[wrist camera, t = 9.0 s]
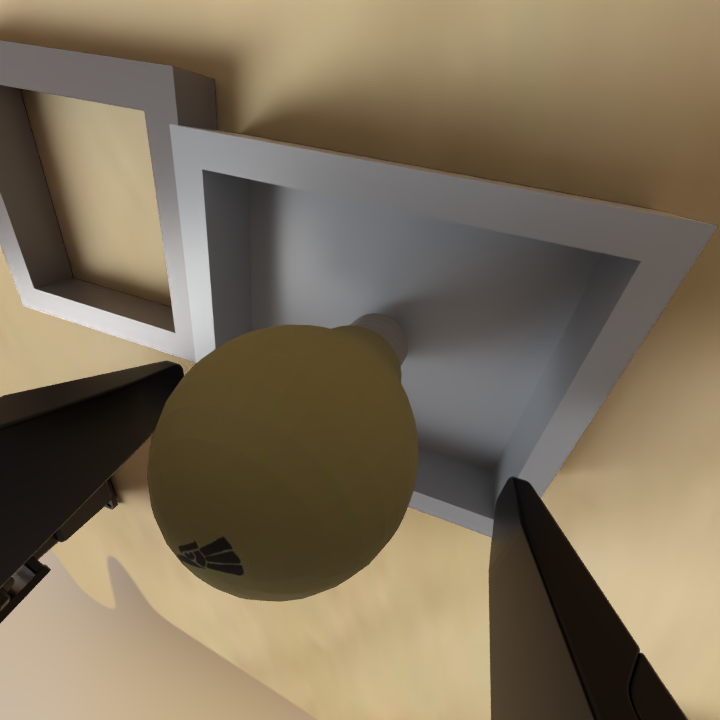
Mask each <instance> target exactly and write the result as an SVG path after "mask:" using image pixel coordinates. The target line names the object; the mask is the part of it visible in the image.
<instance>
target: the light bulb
mask: <svg viewBox="0 0 720 720" xmlns="http://www.w3.org/2000/svg"><path fill="white" fill-rule="evenodd" d="M407 352H408V340H407V337H406V334H405V332H404V330H403V329H402V327H401V326H400V325H399V324H398V323H397V322H396V321H395V320H393V319H392V318H390V317H388V316H386V315H383V314H378V313H371V314H366V315H363V316H361V317H359V318H358V319H356V320H355V321H353V323H352V324H350V325H347V326H339V327H336V328H332V329H330V328H325V327H320V326H313V325H280V326H275V327H269V328H264V329H260V330H255V331H251V332H248V333H246V334H243V335H241V336H239V337H236V338H234V339H232V340H230V341H227V342H226V343H224V344H223V345H221V346H220V347H218V348H217V349H215V350H214V351H212V352H211V353H209V354H208V355H206V356H205V357H203V358H202V359H201V360H200V361H199V362H197V363H196V364H195V365H194V366H193V367H192V368H191V369H190V371H189V372H188V373H187V374H186V375H185V376H184V377H183V378H182V380H181V381H180V382H179V384H178V385H177V387H176V388H175V389H174V391H173V392H172V394H171V395H170V396H169V398H168V399H167V401H166V403H165V405H164V408H163V410H162V413H161V415H160V418H159V421H158V423H157V426H156V428H155V431H154V433H153V436H152V438H151V446H150V453H149V461H148V487H149V494H150V501H151V507H152V511H153V514H154V517H155V519H156V521H157V524H158V526H159V528H160V530H161V532H162V535H163V537H164V539H165V541H166V543H167V545H168V546H169V547H170V549H171V550H172V551H173V552H174V554H175V555H176V556H177V557H178V559H179V560H180V561H181V563H182V564H183V565H184V566H185V567H186V568H188V569H189V570H190V571H191V572H192V573H193V574H194V575H195V576H196V577H198V578H200V579H201V580H203V581H204V582H206V583H207V584H209V585H210V586H212V587H214V588H216V589H218V590H221V591H223V592H226V593H228V594H231V595H234V596H236V597H239V598H244V599H250V600H263V601H288V600H296V599H303V598H306V597H309V596H312V595H315V594H318V593H320V592H323V591H326V590H328V589H331V588H334V587H336V586H338V585H339V584H341V583H343V582H344V581H346V580H347V579H349V578H350V577H352V576H353V575H355V574H356V573H357V572H359V571H360V570H362V569H363V568H364V567H366V566H367V565H369V564H370V562H371V561H372V560H373V559H374V558H375V557H376V556H377V555H378V553H379V552H380V551H381V550H382V549H383V548H384V546H385V545H386V544H387V543H388V542H389V541H390V539H391V538H392V537H393V535H394V534H395V532H396V531H397V529H398V527H399V525H400V523H401V521H402V519H403V517H404V515H405V512H406V510H407V508H408V505H409V503H410V500H411V497H412V494H413V492H414V487H415V482H416V476H417V467H418V458H419V455H418V437H417V429H416V422H415V418H414V415H413V411H412V408H411V405H410V402H409V399H408V396H407V394H406V392H405V390H404V388H403V386H402V384H401V377H402V373H401V365H402V364H403V361H404V360H405V358H406V356H407Z"/></svg>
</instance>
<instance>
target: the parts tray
mask: <svg viewBox="0 0 720 720" xmlns="http://www.w3.org/2000/svg"><path fill="white" fill-rule="evenodd" d="M169 126H170V135H171V144H172V153H173V162H174V171H175V179H176V188H177V197H178V206H179V215H180V224H181V233H182V242H183V251H184V260H185V269H186V278H187V287H188V296H189V305H190V314H191V323H192V332H193V341H194V350H195V359H196V363H197V362H199V361H200V360H201V359H202V358H203V357H205V356H206V355H208V354H209V353H211V352H212V351H214V350H215V349H217V348H218V347H220V346H221V345H223V344H224V343H226V342H227V341H230V340H232V339H234V338H236V337H239V336H241V335H243V334H246V333H248V332H251V331H255V330H260V329H264V328H269V327H275V326H280V325H313V326H320V327H325V328H330V329H332V328H336V327H339V326H347V325H350V324H352V323H353V321H355V320H356V319H358V318H359V317H361V316H363V315H366V314H371V313H378V314H383V315H386V316H388V317H390V318H392V319H393V320H395V321H396V322H397V323H398V324H399V325H400V326H401V327H402V329H403V330H404V332H405V334H406V337H407V340H408V352H407V356H406V358H405V360H404V361H403V364H402V365H401V373H402V377H401V384H402V386H403V388H404V390H405V392H406V394H407V396H408V399H409V402H410V405H411V408H412V411H413V415H414V418H415V422H416V429H417V437H418V455H419V458H418V467H417V476H416V482H415V487H414V492H413V494H412V497H411V500H410V503H409V505H408V507H411V508H413V509H416V510H419V511H421V512H424V513H427V514H429V515H432V516H435V517H438V518H440V519H443V520H446V521H448V522H451V523H454V524H457V525H459V526H462V527H465V528H467V529H470V530H473V531H476V532H478V533H481V534H484V535H486V536H489V537H492V532H493V522H494V512H495V505H496V501H497V498H498V496H499V494H500V492H501V491H502V489H503V487H504V485H505V483H506V482H507V480H508V479H509V478H510V477H511V476H514V477H517V478H520V479H523V480H526V481H528V482H530V483H531V485H532V486H533V488H534V489H535V491H536V492H537V494H538V495H539V497H540V498H541V497H542V495H543V494H544V492H545V491H546V489H547V488H548V486H549V485H550V483H551V482H552V480H553V478H554V477H555V475H556V474H557V472H558V471H559V469H560V468H561V466H562V465H563V463H564V462H565V460H566V459H567V457H568V455H569V454H570V452H571V451H572V449H573V448H574V446H575V445H576V443H577V442H578V440H579V439H580V437H581V435H582V434H583V432H584V431H585V429H586V428H587V426H588V425H589V423H590V422H591V420H592V419H593V417H594V416H595V414H596V412H597V411H598V409H599V408H600V406H601V405H602V403H603V402H604V400H605V399H606V397H607V396H608V394H609V393H610V391H611V389H612V388H613V386H614V385H615V383H616V382H617V380H618V379H619V377H620V376H621V374H622V373H623V371H624V370H625V368H626V366H627V365H628V363H629V362H630V360H631V359H632V357H633V356H634V354H635V353H636V351H637V350H638V348H639V346H640V345H641V343H642V342H643V340H644V339H645V337H646V336H647V334H648V333H649V331H650V330H651V328H652V327H653V325H654V323H655V322H656V320H657V319H658V317H659V316H660V314H661V313H662V311H663V310H664V308H665V307H666V305H667V304H668V302H669V300H670V299H671V297H672V296H673V294H674V293H675V291H676V290H677V288H678V287H679V285H680V284H681V282H682V280H683V279H684V277H685V276H686V274H687V273H688V271H689V270H690V268H691V267H692V265H693V264H694V262H695V261H696V259H697V257H698V256H699V254H700V253H701V251H702V250H703V248H704V247H705V245H706V244H707V242H708V241H709V239H710V238H711V236H712V234H713V233H714V231H715V230H716V228H717V227H718V226H717V225H713V224H709V223H705V222H701V221H697V220H693V219H690V218H686V217H682V216H678V215H674V214H670V213H666V212H662V211H658V210H654V209H649V208H643V207H638V206H632V205H627V204H621V203H616V202H611V201H605V200H600V199H594V198H589V197H583V196H578V195H572V194H567V193H561V192H556V191H550V190H545V189H540V188H534V187H529V186H523V185H518V184H512V183H507V182H501V181H496V180H490V179H485V178H479V177H474V176H469V175H463V174H458V173H452V172H447V171H441V170H436V169H430V168H425V167H419V166H414V165H409V164H403V163H398V162H392V161H387V160H381V159H376V158H370V157H365V156H359V155H354V154H348V153H343V152H338V151H332V150H327V149H321V148H316V147H310V146H305V145H299V144H294V143H288V142H283V141H277V140H272V139H267V138H261V137H256V136H250V135H245V134H239V133H231V132H224V131H217V130H209V129H202V128H195V127H187V126H180V125H172V124H169Z"/></svg>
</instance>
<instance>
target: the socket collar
mask: <svg viewBox="0 0 720 720" xmlns="http://www.w3.org/2000/svg"><path fill="white" fill-rule="evenodd" d="M19 88H20V89H26V90H32V91H37V92H43V93H48V94H54V95H59V96H65V97H71V98H76V99H82V100H87V101H93V102H98V103H104V104H109V105H115V106H121V107H126V108H132V109H137V110H143V111H145V118H146V125H147V133H148V140H149V147H150V154H151V161H152V168H153V175H154V183H155V190H156V197H157V204H158V211H159V218H160V226H161V233H162V240H163V247H164V254H165V261H166V269H167V276H168V283H169V290H170V297H171V304H172V307H168V306H165V305H162V304H158V303H155V302H152V301H148V300H145V299H142V298H138V297H135V296H132V295H128V294H125V293H122V292H118V291H115V290H112V289H108V288H105V287H102V286H98V285H95V284H92V283H88V282H85V281H82V280H78V279H75V278H73V275H72V272H71V268H70V265H69V261H68V258H67V254H66V251H65V247H64V244H63V240H62V237H61V233H60V230H59V226H58V222H57V219H56V215H55V212H54V208H53V205H52V201H51V198H50V194H49V191H48V187H47V184H46V180H45V177H44V173H43V170H42V166H41V163H40V159H39V156H38V152H37V149H36V145H35V142H34V138H33V135H32V131H31V128H30V124H29V121H28V117H27V114H26V110H25V107H24V103H23V100H22V96H21V92H20V89H19ZM169 124H172V125H180V126H187V127H195V128H202V129H209V130H217V118H216V99H215V80H214V79H212V78H208V77H205V76H202V75H199V74H196V73H193V72H190V71H187V70H184V69H180V68H177V67H174V66H170V65H163V64H156V63H150V62H143V61H136V60H129V59H123V58H116V57H109V56H103V55H96V54H89V53H82V52H76V51H69V50H62V49H55V48H49V47H42V46H35V45H28V44H22V43H15V42H8V41H2V40H0V246H1V248H2V251H3V254H4V256H5V259H6V261H7V264H8V267H9V269H10V272H11V275H12V277H13V280H14V283H15V285H16V288H17V291H18V293H19V296H20V299H21V301H22V304H23V306H25V307H28V308H31V309H34V310H37V311H40V312H43V313H46V314H49V315H52V316H55V317H58V318H61V319H64V320H68V321H71V322H74V323H77V324H80V325H83V326H86V327H89V328H92V329H95V330H98V331H101V332H104V333H107V334H110V335H113V336H116V337H119V338H122V339H125V340H128V341H131V342H134V343H137V344H140V345H143V346H147V347H150V348H153V349H156V350H159V351H162V352H165V353H168V354H171V355H174V356H177V357H180V358H183V359H186V360H189V361H192V362H195V363H196V359H195V350H194V341H193V332H192V323H191V314H190V305H189V296H188V287H187V278H186V269H185V260H184V251H183V242H182V233H181V224H180V215H179V206H178V197H177V188H176V179H175V171H174V162H173V153H172V144H171V135H170V126H169Z"/></svg>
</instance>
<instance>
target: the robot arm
mask: <svg viewBox="0 0 720 720" xmlns="http://www.w3.org/2000/svg"><path fill="white" fill-rule="evenodd" d="M183 377H184V374H183V368H182V367H181V365H179V364H177V363H174V362H171V361H162V362H158V363H153V364H148V365H144V366H139V367H135V368H130V369H125V370H121V371H116V372H111V373H107V374H102V375H97V376H93V377H88V378H83V379H79V380H74V381H69V382H65V383H60V384H55V385H51V386H46V387H41V388H37V389H32V390H27V391H23V392H18V393H13V394H9V395H4V396H2V397H0V623H1V622H2V621H3V620H4V619H5V618H6V617H7V616H8V615H9V613H11V611H12V610H13V609H14V608H15V607H16V606H17V605H18V604H19V603H20V602H21V601H22V600H23V599H24V598H25V597H26V596H27V595H28V594H29V592H30V591H31V590H32V589H33V588H34V587H35V586H36V585H37V584H38V583H39V582H40V581H41V580H42V579H43V578H44V577H45V576H46V575H47V574H48V572H49V571H50V570H51V569H50V568H49V567H48V566H46V565H43V564H42V563H40V562H39V561H38V559H39V558H40V557H42V556H43V555H44V554H45V553H46V552H47V551H48V550H50V549H51V548H52V547H53V546H54V545H55V544H56V543H58V542H64V541H66V540H67V539H68V538H69V537H70V536H72V535H73V534H74V533H75V532H76V531H77V530H78V529H79V528H81V527H82V526H83V525H84V524H85V523H86V522H87V521H88V520H90V519H91V518H92V517H93V516H94V515H95V514H96V513H97V512H99V511H100V510H101V509H102V508H103V507H104V506H105V507H107V508H109V509H114V508H115V507H116V506H117V505H118V503H117V500H116V497H115V494H114V491H113V488H112V485H111V482H110V479H109V478H110V477H111V476H112V475H113V474H114V473H115V472H116V471H117V470H118V469H119V468H120V467H121V466H122V465H123V464H124V463H125V462H126V461H127V460H128V459H129V458H130V457H131V456H132V455H133V453H134V452H135V451H136V450H137V449H138V448H139V447H140V446H141V445H142V444H143V443H144V442H145V441H146V440H147V439H148V438H149V437H150V436H151V435H152V433H153V432H154V431H155V428H156V426H157V423H158V421H159V418H160V415H161V413H162V410H163V408H164V405H165V403H166V401H167V399H168V398H169V396H170V395H171V394H172V392H173V391H174V389H175V388H176V387H177V385H178V384H179V382H180V381H181V380H182V378H183ZM12 576H13V577H12ZM489 621H490V678H491V720H688V719H687V717H686V716H685V714H684V713H683V711H682V710H681V709H680V707H679V706H678V704H677V703H676V701H675V700H674V698H673V697H672V695H671V694H670V692H669V691H668V690H667V688H666V687H665V685H664V684H663V682H662V681H661V679H660V678H659V676H658V675H657V673H656V672H655V670H654V669H653V667H652V666H651V664H650V663H649V661H648V660H647V658H646V657H645V655H644V654H643V653H639V652H640V648H639V646H638V645H637V643H636V642H635V640H634V639H633V637H632V636H631V634H630V633H629V631H628V630H627V628H626V627H625V625H624V624H623V622H622V621H621V619H620V618H619V616H618V615H617V613H616V612H615V610H614V609H613V607H612V606H611V604H610V603H609V601H608V600H607V598H606V597H605V595H604V593H603V592H602V590H601V589H600V587H599V586H598V584H597V583H596V581H595V580H594V578H593V577H592V575H591V574H590V572H589V571H588V569H587V568H586V566H585V565H584V563H583V562H582V560H581V559H580V557H579V556H578V554H577V553H576V551H575V550H574V548H573V547H572V545H571V544H570V542H569V541H568V539H567V538H566V536H565V535H564V533H563V532H562V530H561V529H560V527H559V526H558V524H557V522H556V521H555V519H554V518H553V516H552V515H551V513H550V512H549V510H548V509H547V507H546V506H545V504H544V503H543V501H542V500H541V498H540V497H539V495H538V494H537V492H536V491H535V489H534V488H533V486H532V485H531V483H530V482H528V481H526V480H523V479H520V478H517V477H514V476H511V477H510V478H509V479H508V480H507V482H506V483H505V485H504V487H503V489H502V491H501V492H500V494H499V496H498V498H497V501H496V505H495V512H494V522H493V532H492V542H491V552H490V563H489Z"/></svg>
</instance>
